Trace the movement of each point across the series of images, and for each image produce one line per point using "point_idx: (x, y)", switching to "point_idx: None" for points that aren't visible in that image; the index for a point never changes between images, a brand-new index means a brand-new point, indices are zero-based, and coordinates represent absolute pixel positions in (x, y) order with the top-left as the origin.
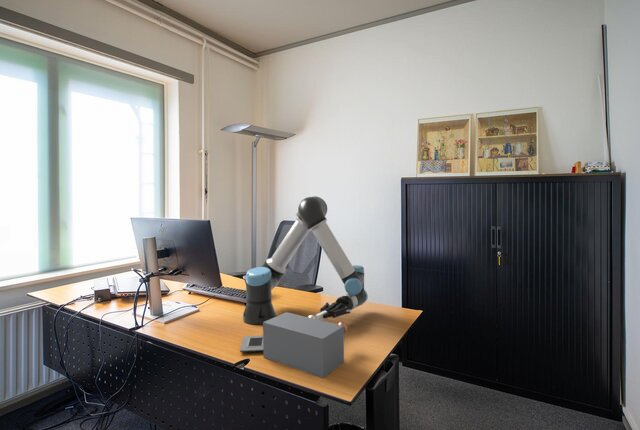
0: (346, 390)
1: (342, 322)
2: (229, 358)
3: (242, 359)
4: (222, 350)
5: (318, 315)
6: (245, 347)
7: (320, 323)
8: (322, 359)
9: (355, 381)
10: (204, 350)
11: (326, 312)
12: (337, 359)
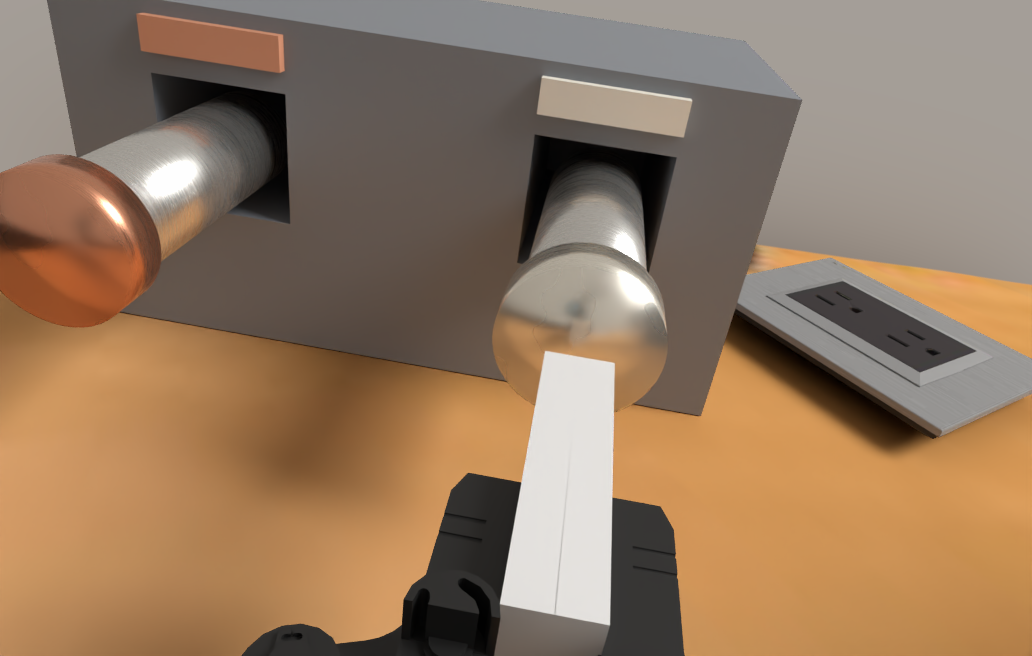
0: None
1: (42, 166)
2: (821, 257)
3: (757, 258)
4: (951, 296)
5: (549, 355)
6: (845, 279)
7: (300, 9)
8: None
9: None
10: (1017, 285)
11: (503, 588)
12: None
